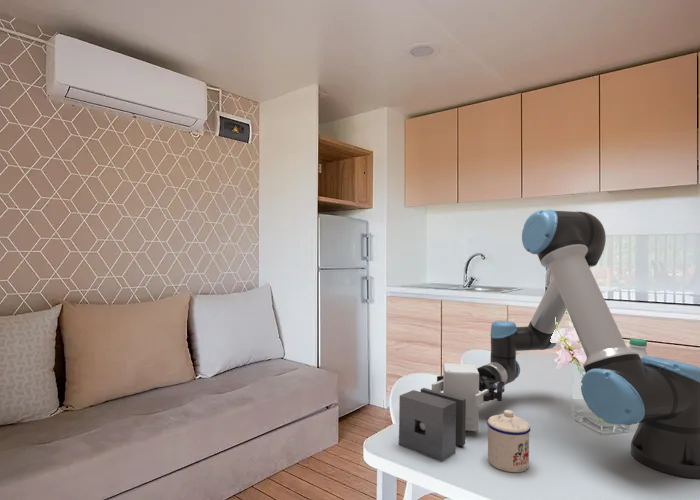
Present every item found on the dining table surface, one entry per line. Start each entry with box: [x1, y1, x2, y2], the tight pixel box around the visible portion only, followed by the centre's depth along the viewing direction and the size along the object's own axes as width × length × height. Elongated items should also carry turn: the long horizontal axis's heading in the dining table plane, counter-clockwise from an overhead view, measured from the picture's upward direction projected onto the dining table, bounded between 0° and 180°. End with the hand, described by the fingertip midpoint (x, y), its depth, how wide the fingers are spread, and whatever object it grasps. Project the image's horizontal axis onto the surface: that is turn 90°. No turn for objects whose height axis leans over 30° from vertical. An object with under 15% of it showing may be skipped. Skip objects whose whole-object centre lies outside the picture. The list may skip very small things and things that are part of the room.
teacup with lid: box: [486, 409, 531, 473], centre depth 96 cm, size 12×9×12 cm
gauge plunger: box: [419, 387, 466, 447], centre depth 104 cm, size 14×10×11 cm, turn 47°
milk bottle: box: [629, 338, 649, 358], centre depth 137 cm, size 8×8×20 cm
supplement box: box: [442, 362, 480, 432], centre depth 113 cm, size 9×9×15 cm
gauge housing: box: [398, 389, 457, 463], centre depth 106 cm, size 15×15×12 cm
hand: (453, 394), depth 111 cm, fingers closed on supplement box, 12 cm apart
